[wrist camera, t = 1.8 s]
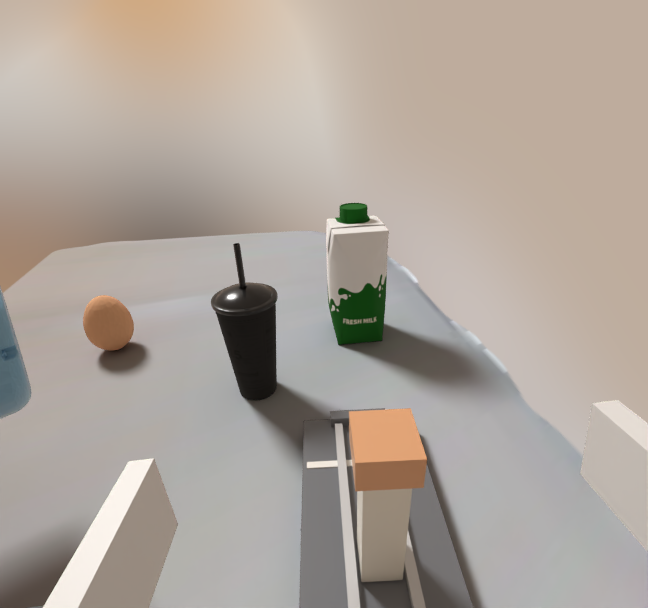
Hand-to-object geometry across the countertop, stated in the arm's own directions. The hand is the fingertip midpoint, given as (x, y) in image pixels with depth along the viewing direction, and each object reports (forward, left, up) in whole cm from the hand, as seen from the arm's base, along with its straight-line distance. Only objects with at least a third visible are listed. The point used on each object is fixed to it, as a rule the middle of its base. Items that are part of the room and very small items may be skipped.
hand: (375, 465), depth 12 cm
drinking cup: (-33, +7, -23) cm, 41 cm away
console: (-10, +8, -23) cm, 26 cm away
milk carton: (-37, +26, -23) cm, 51 cm away
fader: (-6, +6, -21) cm, 23 cm away
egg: (-55, -8, -23) cm, 60 cm away
